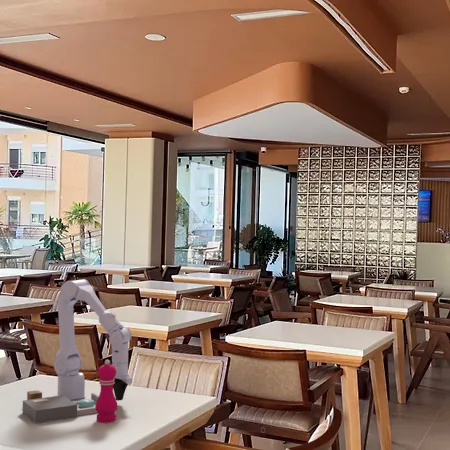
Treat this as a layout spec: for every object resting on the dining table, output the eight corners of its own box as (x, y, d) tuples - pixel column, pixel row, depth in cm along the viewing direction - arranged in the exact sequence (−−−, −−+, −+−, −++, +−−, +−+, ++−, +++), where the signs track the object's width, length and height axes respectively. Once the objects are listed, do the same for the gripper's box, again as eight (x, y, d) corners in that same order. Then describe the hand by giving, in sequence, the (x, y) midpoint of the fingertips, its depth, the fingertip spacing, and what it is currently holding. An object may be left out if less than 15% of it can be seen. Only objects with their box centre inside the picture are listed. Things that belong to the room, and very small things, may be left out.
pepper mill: (93, 418, 218) (94, 358, 218) (114, 416, 221) (115, 357, 221) (97, 424, 211) (98, 362, 211) (119, 422, 214) (120, 361, 214)
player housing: (62, 407, 230) (62, 394, 230) (77, 417, 219) (77, 404, 219) (22, 412, 223) (22, 400, 223) (35, 423, 211) (35, 409, 211)
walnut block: (38, 404, 234) (38, 390, 234) (41, 406, 230) (42, 392, 230) (27, 405, 231) (27, 391, 231) (30, 408, 228) (30, 394, 228)
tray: (94, 402, 237) (94, 392, 237) (109, 411, 226) (109, 401, 226) (57, 407, 229) (57, 397, 229) (71, 417, 218) (71, 407, 218)
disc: (90, 404, 231) (90, 398, 231) (95, 407, 227) (95, 401, 227) (76, 405, 229) (76, 399, 229) (81, 409, 224) (81, 403, 224)
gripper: (100, 359, 238) (99, 397, 238) (120, 367, 226) (119, 406, 226) (117, 357, 242) (116, 394, 242) (137, 364, 231) (137, 403, 231)
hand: (119, 399), depth 235 cm, fingers closed
